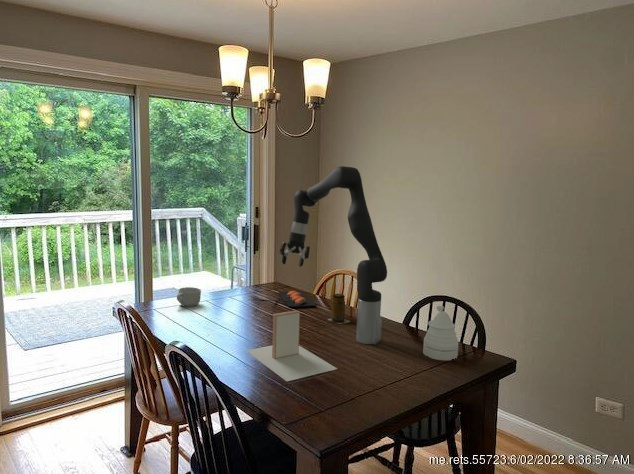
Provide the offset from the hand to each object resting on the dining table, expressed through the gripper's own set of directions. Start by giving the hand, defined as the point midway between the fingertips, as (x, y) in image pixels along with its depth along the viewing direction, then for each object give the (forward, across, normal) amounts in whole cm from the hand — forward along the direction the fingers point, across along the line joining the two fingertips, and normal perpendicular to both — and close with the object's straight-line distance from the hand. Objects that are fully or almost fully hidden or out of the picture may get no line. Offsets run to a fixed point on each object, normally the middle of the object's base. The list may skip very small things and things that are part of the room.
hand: (292, 265), depth 231 cm
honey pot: (+16, +38, -71) cm, 82 cm away
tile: (+25, -19, -57) cm, 65 cm away
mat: (+26, -18, -60) cm, 68 cm away
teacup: (+30, -42, +21) cm, 55 cm away
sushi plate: (+22, +5, +16) cm, 28 cm away
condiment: (+20, +19, -22) cm, 35 cm away
